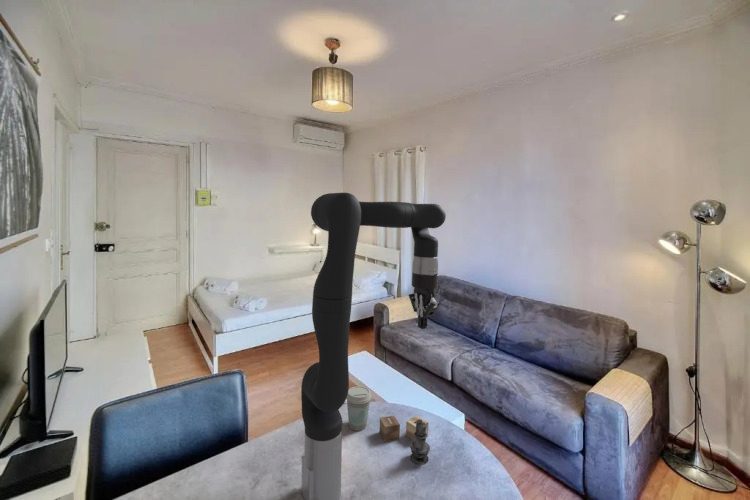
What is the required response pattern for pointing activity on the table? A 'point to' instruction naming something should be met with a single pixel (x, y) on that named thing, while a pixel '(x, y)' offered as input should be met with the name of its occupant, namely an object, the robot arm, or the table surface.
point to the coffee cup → (358, 407)
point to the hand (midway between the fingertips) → (422, 328)
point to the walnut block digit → (389, 428)
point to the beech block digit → (414, 426)
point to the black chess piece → (420, 445)
